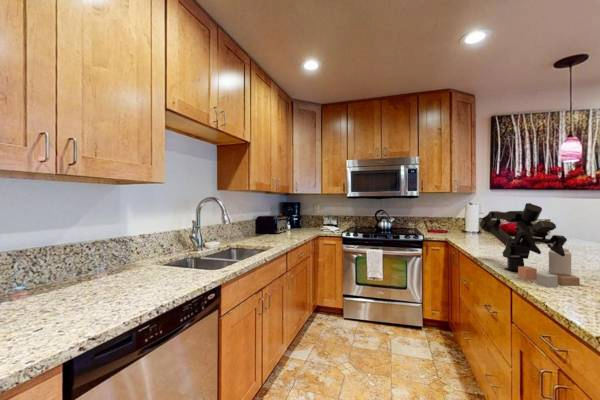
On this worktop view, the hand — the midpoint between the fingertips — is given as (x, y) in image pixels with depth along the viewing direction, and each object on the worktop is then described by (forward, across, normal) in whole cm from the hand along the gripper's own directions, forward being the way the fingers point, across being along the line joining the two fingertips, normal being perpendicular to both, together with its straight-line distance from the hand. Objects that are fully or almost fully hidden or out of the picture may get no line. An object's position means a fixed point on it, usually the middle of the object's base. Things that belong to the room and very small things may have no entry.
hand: (552, 254), depth 111 cm
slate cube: (+7, -1, +10) cm, 13 cm away
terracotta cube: (-2, 0, +16) cm, 17 cm away
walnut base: (+4, +8, +12) cm, 15 cm away
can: (-7, +17, +18) cm, 26 cm away
